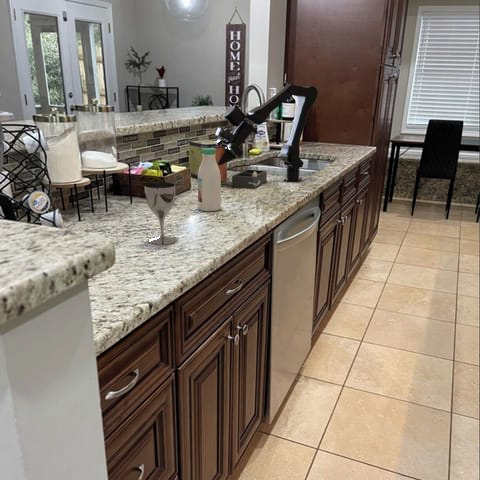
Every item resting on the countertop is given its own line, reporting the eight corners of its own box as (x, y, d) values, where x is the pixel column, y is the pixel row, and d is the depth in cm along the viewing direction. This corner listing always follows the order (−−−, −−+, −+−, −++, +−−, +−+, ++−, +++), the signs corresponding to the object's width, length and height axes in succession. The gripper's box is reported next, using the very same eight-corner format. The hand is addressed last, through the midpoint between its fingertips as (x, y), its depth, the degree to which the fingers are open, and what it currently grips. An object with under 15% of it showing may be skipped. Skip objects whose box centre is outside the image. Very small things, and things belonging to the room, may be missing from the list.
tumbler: (215, 177, 215) (214, 146, 210) (228, 178, 213) (228, 146, 208) (209, 180, 210) (208, 147, 204) (223, 181, 208) (223, 148, 202)
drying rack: (231, 186, 208) (231, 175, 207) (246, 179, 224) (246, 169, 222) (253, 188, 205) (253, 177, 204) (266, 181, 221) (266, 170, 219)
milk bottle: (224, 207, 174) (224, 147, 166) (215, 212, 167) (215, 150, 159) (203, 205, 176) (202, 146, 168) (194, 210, 169) (193, 149, 161)
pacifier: (241, 187, 207) (255, 188, 205) (241, 172, 204) (255, 172, 202) (248, 184, 213) (261, 185, 211) (248, 169, 211) (261, 170, 208)
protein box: (208, 181, 219) (208, 144, 213) (189, 176, 230) (188, 141, 224) (227, 179, 225) (227, 142, 219) (208, 174, 236) (207, 139, 230)
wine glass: (149, 236, 140) (145, 182, 134) (177, 236, 141) (175, 182, 135) (146, 245, 133) (143, 188, 127) (176, 244, 134) (174, 188, 128)
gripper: (220, 119, 211) (195, 147, 212) (235, 122, 195) (209, 152, 196) (237, 137, 217) (213, 165, 218) (254, 142, 201) (228, 172, 202)
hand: (215, 163), depth 208 cm, fingers closed on tumbler, 6 cm apart
